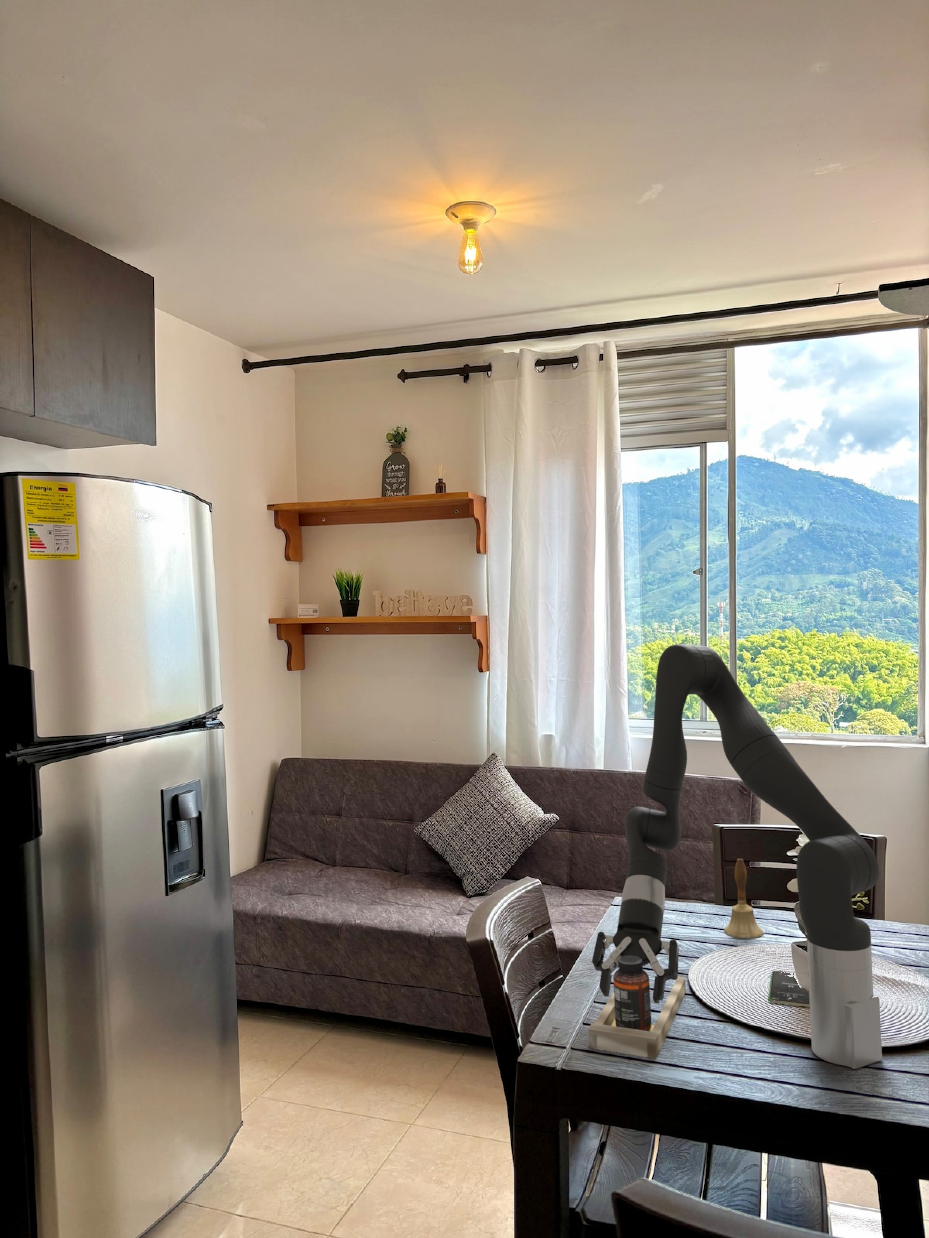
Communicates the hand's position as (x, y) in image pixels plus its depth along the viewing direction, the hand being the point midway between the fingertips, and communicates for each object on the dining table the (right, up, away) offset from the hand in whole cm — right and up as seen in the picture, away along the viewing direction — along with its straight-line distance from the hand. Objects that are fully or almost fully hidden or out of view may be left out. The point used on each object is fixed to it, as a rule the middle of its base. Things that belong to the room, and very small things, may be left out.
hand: (630, 997), depth 144 cm
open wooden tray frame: (+3, -6, +6) cm, 9 cm away
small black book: (+33, -6, +16) cm, 37 cm away
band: (+1, -6, +1) cm, 6 cm away
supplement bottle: (+1, -6, +1) cm, 6 cm away
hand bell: (+34, -7, +48) cm, 59 cm away
